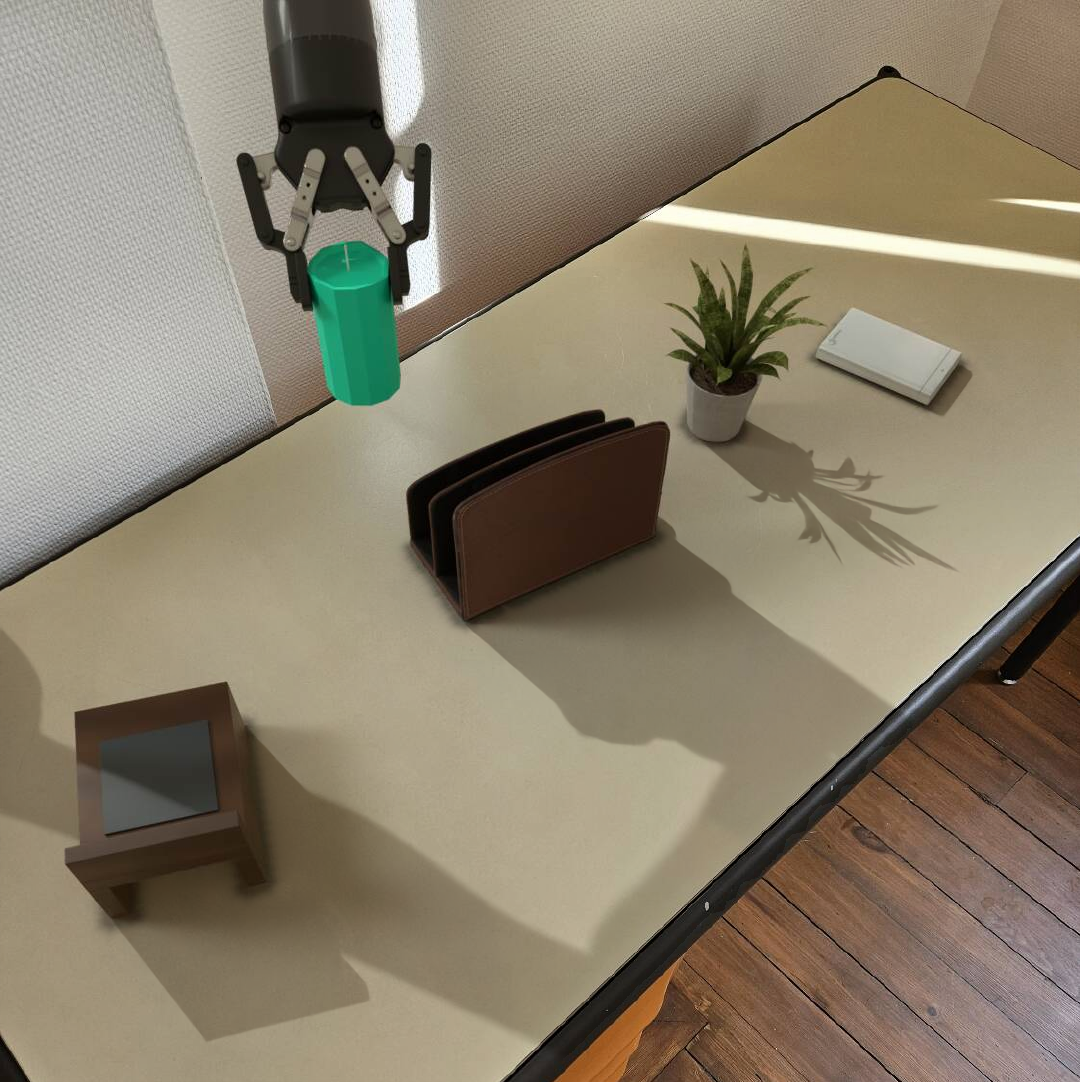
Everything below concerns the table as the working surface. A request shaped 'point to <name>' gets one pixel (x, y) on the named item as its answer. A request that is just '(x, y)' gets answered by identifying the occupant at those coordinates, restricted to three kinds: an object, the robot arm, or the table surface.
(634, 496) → the letter holder
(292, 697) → the table surface
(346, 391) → the candle
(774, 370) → the house plant
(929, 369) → the hard drive
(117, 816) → the wooden side table
